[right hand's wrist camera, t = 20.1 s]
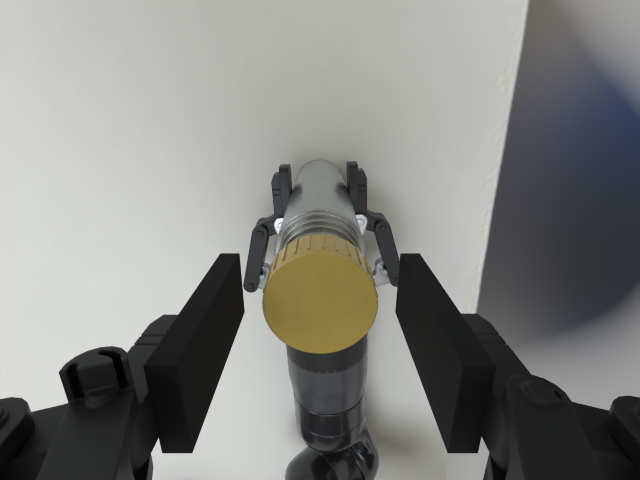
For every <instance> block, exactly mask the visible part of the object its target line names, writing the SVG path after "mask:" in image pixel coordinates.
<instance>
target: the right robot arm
mask: <svg viewBox="0 0 640 480" xmlns="http://www.w3.org/2000/svg"><path fill="white" fill-rule="evenodd" d="M243 315H244V300H243V289H242V278H241V266H240V255H239V254H220V255H219V256H218V258H217V259H216V261H215V262H214V264H213V265H212V267H211V268H210V270H209V271H208V272H207V274H206V275H205V277H204V278H203V280H202V281H201V283H200V284H199V286H198V287H197V289H196V290H195V291H194V293H193V294H192V296H191V297H190V299H189V300H188V302H187V303H186V305H185V306H184V307H183V309H182V310H181V312H180V313H179V315H163V316H161V317H160V318H158V319H157V320H155V321H154V322H152V323H151V324H150V325H149V326H148V327H147V328H146V330H145V331H144V332H143V334H142V336H141V337H139V339H138V340H137V341H136V342H135V345H134V346H132V347H131V349H130V350H129V351H128V353H127V352H126V351H124V350H123V349H122V348H118V347H113V346H111V347H100V348H97V349H93V350H89V351H87V352H85V353H82V354H80V355H78V356H76V357H75V358H73V359H72V360H70V361H69V362H68V363H66V364H65V365H64V366H63V368H62V369H61V370H60V371H59V375H60V378H61V381H62V384H63V387H64V390H65V393H66V396H67V399H68V403H67V404H64V405H60V406H56V407H51V408H47V409H43V410H38V411H34V412H31V410H30V408H29V405H28V403H27V402H26V401H25V400H23V399H22V398H14V397H10V398H5V399H0V480H152V474H153V462H152V457H151V452H152V450H153V448H154V446H155V444H156V442H157V440H158V438H159V440H160V445H161V449H162V453H192V452H193V450H194V447H195V444H196V441H197V439H198V436H199V433H200V431H201V428H202V425H203V423H204V420H205V417H206V415H207V412H208V409H209V406H210V404H211V401H212V398H213V396H214V393H215V390H216V388H217V385H218V382H219V379H220V377H221V374H222V371H223V369H224V366H225V363H226V361H227V358H228V355H229V353H230V350H231V347H232V344H233V342H234V339H235V336H236V334H237V331H238V328H239V326H240V323H241V320H242V317H243ZM396 315H397V317H398V320H399V323H400V326H401V328H402V331H403V334H404V336H405V339H406V342H407V344H408V347H409V350H410V353H411V355H412V358H413V361H414V363H415V366H416V369H417V371H418V374H419V377H420V379H421V382H422V385H423V388H424V390H425V393H426V396H427V398H428V401H429V404H430V406H431V409H432V412H433V415H434V417H435V420H436V423H437V425H438V428H439V431H440V433H441V436H442V439H443V441H444V444H445V447H446V450H447V452H448V453H478V449H479V445H480V440H481V436H482V438H483V440H484V442H485V444H486V446H487V448H488V450H489V452H490V453H489V457H488V461H487V465H486V469H485V474H484V478H483V480H640V398H639V397H633V396H621V397H618V398H617V399H615V400H614V401H613V403H612V405H611V408H610V410H609V411H608V410H604V409H599V408H595V407H591V406H587V405H582V404H578V403H575V402H571V400H570V399H569V397H568V396H567V394H566V393H565V392H564V391H563V390H561V389H560V388H559V387H558V386H557V385H555V384H553V383H551V382H549V381H548V380H546V379H544V378H540V377H537V376H534V375H531V374H530V372H529V371H528V370H527V369H526V367H525V366H524V365H523V364H522V362H521V361H520V360H519V359H518V357H517V356H516V355H515V353H514V352H513V351H512V350H511V348H510V347H509V346H508V345H506V342H505V341H504V340H503V338H502V337H501V336H499V333H498V332H497V331H496V330H495V328H494V327H493V326H492V325H491V323H490V322H488V321H487V320H485V319H484V318H482V317H481V316H479V315H478V314H461V313H460V312H459V310H458V309H457V307H456V306H455V305H454V303H453V302H452V300H451V299H450V297H449V296H448V294H447V293H446V291H445V290H444V289H443V287H442V286H441V284H440V283H439V281H438V280H437V278H436V277H435V275H434V274H433V272H432V271H431V270H430V268H429V267H428V265H427V264H426V262H425V261H424V259H423V258H422V256H421V255H420V254H401V255H400V266H399V278H398V289H397V300H396Z"/></svg>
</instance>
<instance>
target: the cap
mask: <svg viewBox="0 0 640 480" xmlns="http://www.w3.org/2000/svg"><path fill="white" fill-rule="evenodd" d="M375 286H376V284H375V280H374V277H373V274H372V271H371V268H370V267H369V266H368V263H367V259H366V257H364V256H363V255H362V254H361V252H360V251H359V249H358V247H357V248H356V247H355V246H354V245H352V244H351V243H349V241H348V240H344V239H342V238H339V237H337V236H336V235H335V236H332V235H326V234H324V233H322V234H314V235H310V234H309V235H308V236H304V237H301V238H296V240H294V241H292V242H291V243H289V244H288V245H287V244H286V245H285V247H284V248H283V249H282V250H281V251H280V253H277V255H276V258H275V260H274V262H273V263H271V266H270V269H269V272H268V275H267V278H266V283H265V286H264V289H263V293H264V294H263V302H262V304H263V312H264V316H265V319H266V322H267V324H268V325H269V327H270V329H271V330H272V331H273V333H274V334H275V335H276V336H277V337H278V338H279V339H280V340H281V341H283V342H284V343H286V344H287V345H289V346H291V347H293V348H295V349H297V350H300V351H304V352H308V353H316V354H324V353H332V352H336V351H340V350H343V349H345V348H347V347H350V346H351V345H353V344H355V343H356V342H357V341H359V340H360V339H361V338H362V337H363V336H364V335H365V334H366V333H367V332H368V330H369V329H370V328H371V326H372V324H373V322H374V320H375V317H376V313H377V307H378V299H377V298H378V295H377V292H376V289H375Z"/></svg>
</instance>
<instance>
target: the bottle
mask: <svg viewBox="0 0 640 480" xmlns="http://www.w3.org/2000/svg"><path fill="white" fill-rule="evenodd" d="M322 233H324V234H326V235H332V236H335V235H336V236H337V237H339V238H342V239H344V240H348V241H349V243H351V244H352V245H354V246H355V247H356V248H357V247H358V249H359V251H360V252H361V254H362V255H363V256H364V257H365V242H364V239H363V236H362V233H361V230H360V227H359V224H358V221H357V218H356V215H355V212H354V209H353V206H352V203H351V200H350V197H349V194H348V191H347V188H346V185H345V182H344V179H343V176H342V174H341V172H340V170H339V169H338V168H337V167H336V166H335V165H334V164H333V163H331V162H329V161H325V160H314V161H311V162H309V163H307V164H306V165H305V166H303V168H302V169H301V170H300V172H299V173H298V176H297V179H296V182H295V185H294V188H293V191H292V194H291V197H290V200H289V203H288V206H287V209H286V212H285V215H284V218H283V221H282V224H281V227H280V230H279V233H278V236H277V239H276V243H275V258H276V255H277V253H280V251H281V250H282V249H283V248H284V247H285V245H286V244H287V245H288V244H289V243H291V242H292V241H294V240H296V238H301V237H304V236H308V235H309V234H310V235H314V234H322Z"/></svg>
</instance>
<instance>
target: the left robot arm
mask: <svg viewBox="0 0 640 480" xmlns="http://www.w3.org/2000/svg"><path fill="white" fill-rule="evenodd" d="M271 183H272V193H273V204H274V214H273V215H272V216H270V217H267V218H261V219H259V220H258V222H257V225H256V227H255V228H254V229H253V232H252V237H251V243H250V249H249V255H248V261H247V267H246V273H245V279H244V284H243V287H244V289H245V290H246V291H247V292H255V291H256V290H257V288H260V289H264V286H265V283H266V278H267V275H268V272H269V269H270V265H269V264H267V263H264V262H265V257H266V252H267V246H268V241H269V236H272V235H274V234H278V233H279V230H280V227H281V224H282V221H283V218H284V215H285V212H286V209H287V206H288V203H289V200H290V197H291V194H292V180H291V168H290V164H285V165H281V166H280V167H279V172H276V173H275V174H274V176H273V179H272V182H271ZM347 191H348V194H349V197H350V200H351V203H352V206H353V209H354V212H355V215H356V218H357V221H358V224H359V227H360V230H361V233H362V236H363V234H364V232H365V229H366V230H369V231H372V232H374V233H375V237H376V240H377V244H378V247H379V250H380V254H381V257H382V258H379V259H377V260H376V261H375V269H374V271H373V272H372V274H373V277H374V280H375V284H376V286H380V285H383V284H387V283H391V284H392V285H393V286H396V287H398V278H399V266H400V261H399V257H398V253H397V250H396V246H395V243H394V239H393V235H392V232H391V228H390V225H389V223H388V222H387V220H386V218H385V217H384V215H383V214H381V213H374V212H371V211H369V210H367V177H366V175H365V173H364V171H363V169H358V165H357V163H356V161H351V162H347ZM376 286H375V287H376ZM286 347H287V357H288V366H289V375H290V379H291V383H292V386H293V391H294V400H295V410H296V421H297V427H298V431H299V434H300V436H301V438H302V439H303V441H304V442H305V443H306V444H307V445H308V447H307V448H305V449H304V450H303V451H302V452H300V453H299V454H298V455H297V456H296V457H294V458H293V459H292V461H291V462H290V463H289V464H288V466H287V469H286V473H285V480H374V479H375V476H376V474H377V471H378V467H379V454H378V451H377V448H376V446H375V443H374V441H373V438H372V435H371V432H370V429H369V426H368V423H367V420H366V417H365V414H364V413H365V381H366V375H367V333H366V334H365V335H364V336H363V337H362V338H361V339H360V340H359V341H357V342H356V343H355V344H353V345H351V346H350V347H347V348H345V349H343V350H340V351H336V352H332V353H324V354H316V353H308V352H304V351H300V350H297V349H295V348H293V347H291V346H289V345H287V344H286Z"/></svg>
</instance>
